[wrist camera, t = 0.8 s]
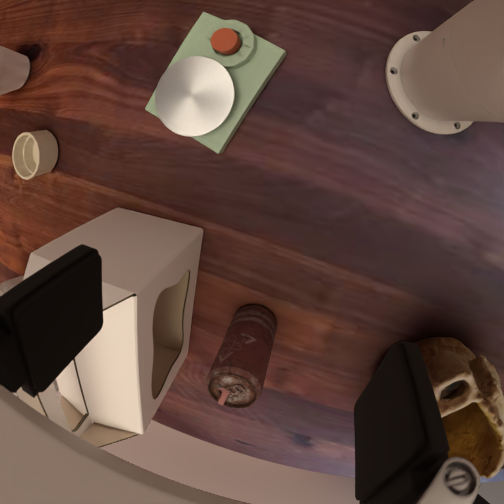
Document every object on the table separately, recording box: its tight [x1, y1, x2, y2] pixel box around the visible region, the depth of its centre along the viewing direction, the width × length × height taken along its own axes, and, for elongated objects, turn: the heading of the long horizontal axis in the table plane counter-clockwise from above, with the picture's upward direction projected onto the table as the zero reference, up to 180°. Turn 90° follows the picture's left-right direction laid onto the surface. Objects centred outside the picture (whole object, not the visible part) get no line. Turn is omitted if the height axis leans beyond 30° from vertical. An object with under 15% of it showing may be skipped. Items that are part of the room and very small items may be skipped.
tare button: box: [211, 28, 241, 55], centre depth 28 cm, size 3×3×2 cm
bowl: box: [12, 130, 58, 180], centre depth 39 cm, size 7×7×5 cm
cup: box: [0, 46, 31, 95], centre depth 32 cm, size 10×10×9 cm
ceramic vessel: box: [413, 337, 504, 478], centre depth 32 cm, size 23×24×25 cm
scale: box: [145, 12, 287, 154], centre depth 32 cm, size 14×11×4 cm
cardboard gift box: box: [17, 207, 204, 447], centre depth 33 cm, size 22×13×28 cm, turn 169°
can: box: [207, 305, 277, 408], centre depth 38 cm, size 6×6×14 cm
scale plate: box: [155, 56, 235, 137], centre depth 31 cm, size 9×9×1 cm
